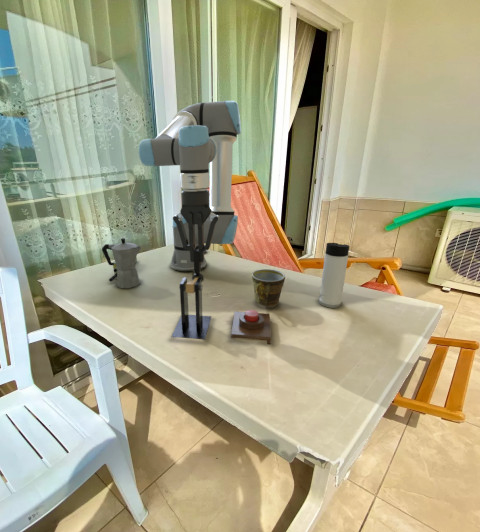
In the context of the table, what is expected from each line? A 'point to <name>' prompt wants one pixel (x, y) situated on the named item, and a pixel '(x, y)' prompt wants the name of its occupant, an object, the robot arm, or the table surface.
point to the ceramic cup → (267, 286)
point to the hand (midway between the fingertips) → (197, 272)
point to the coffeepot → (124, 263)
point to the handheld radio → (115, 271)
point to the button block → (251, 327)
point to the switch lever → (193, 283)
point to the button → (251, 315)
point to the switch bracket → (188, 323)
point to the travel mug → (333, 274)
